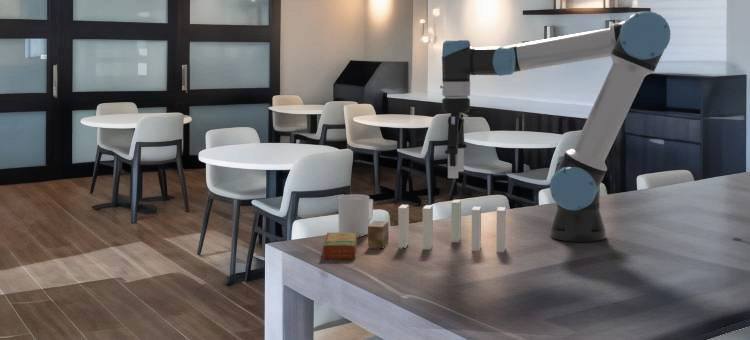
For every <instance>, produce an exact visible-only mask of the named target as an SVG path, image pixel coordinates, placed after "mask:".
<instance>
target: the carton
mask: <svg viewBox="0 0 750 340" xmlns="http://www.w3.org/2000/svg"><path fill="white" fill-rule="evenodd" d="M322 247H323V248H322V249H323V250H322V260H323V259H355V260H356V256H355V255H357V250H358V249H357V248H358V237H357V233H346V232H345V233H344V232H340V233H339V232H327V233H326V237H325V240H324V243H323V246H322ZM356 249H357V250H356Z"/></svg>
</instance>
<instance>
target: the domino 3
mask: <svg viewBox="0 0 750 340" xmlns="http://www.w3.org/2000/svg"><path fill="white" fill-rule="evenodd" d="M461 239H462V200H461V199H452V201H451V242H452V241H453V242H452V243H460V241H461Z"/></svg>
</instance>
